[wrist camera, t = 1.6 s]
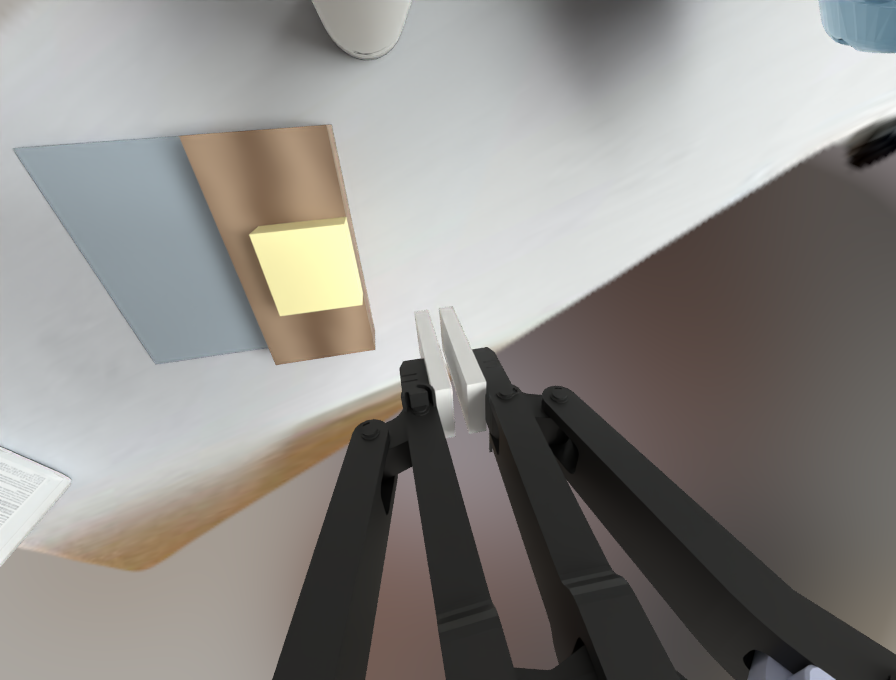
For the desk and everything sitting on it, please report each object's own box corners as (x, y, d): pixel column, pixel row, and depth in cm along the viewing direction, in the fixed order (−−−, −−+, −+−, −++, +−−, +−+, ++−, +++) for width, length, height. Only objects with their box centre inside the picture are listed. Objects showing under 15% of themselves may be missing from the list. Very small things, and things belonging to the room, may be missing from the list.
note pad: (346, 216, 28) (344, 224, 26) (363, 293, 32) (362, 304, 30) (258, 226, 28) (249, 234, 26) (286, 303, 31) (279, 316, 29)
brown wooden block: (331, 124, 28) (326, 125, 25) (374, 330, 39) (375, 349, 36) (202, 134, 27) (178, 135, 24) (284, 343, 38) (275, 365, 35)
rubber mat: (202, 134, 27) (200, 134, 27) (284, 343, 38) (283, 345, 38) (15, 148, 25) (12, 148, 25) (157, 362, 36) (155, 364, 36)
